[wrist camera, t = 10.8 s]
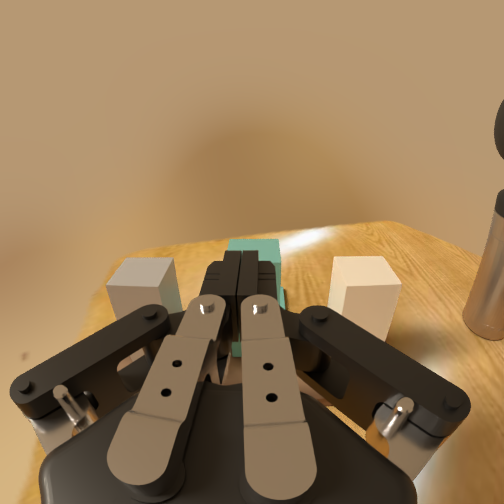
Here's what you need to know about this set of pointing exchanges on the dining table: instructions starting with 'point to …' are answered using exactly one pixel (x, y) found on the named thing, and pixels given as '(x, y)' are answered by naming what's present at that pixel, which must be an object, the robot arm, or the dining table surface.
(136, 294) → the tall grey rectangular prism
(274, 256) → the tall teal pillar
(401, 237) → the dining table surface
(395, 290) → the cream tall rectangular block
